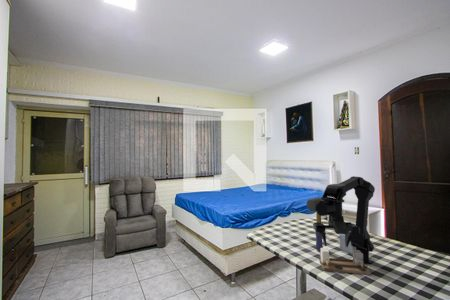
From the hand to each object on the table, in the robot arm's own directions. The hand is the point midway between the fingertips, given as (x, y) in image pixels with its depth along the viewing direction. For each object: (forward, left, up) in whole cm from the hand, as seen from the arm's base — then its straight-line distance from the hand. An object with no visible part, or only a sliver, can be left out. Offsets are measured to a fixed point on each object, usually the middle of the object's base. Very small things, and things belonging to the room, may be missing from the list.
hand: (336, 246), depth 100 cm
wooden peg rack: (-5, +5, -12) cm, 14 cm away
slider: (-5, -3, -11) cm, 13 cm away
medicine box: (-24, +14, -12) cm, 31 cm away
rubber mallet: (-22, -2, -12) cm, 26 cm away
